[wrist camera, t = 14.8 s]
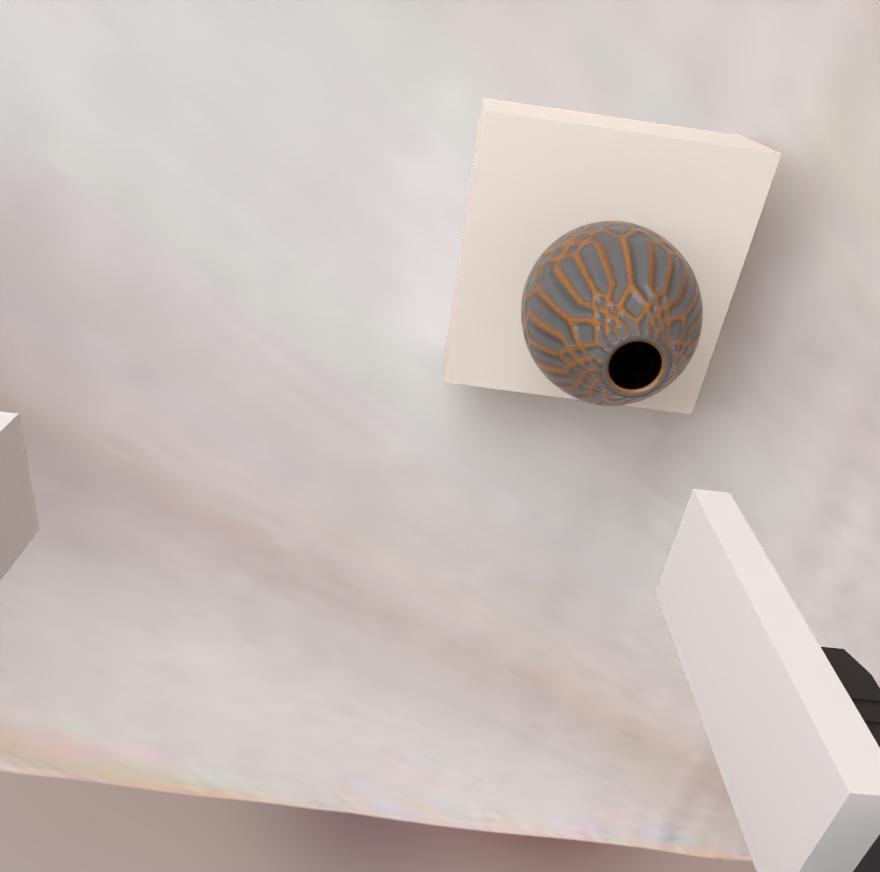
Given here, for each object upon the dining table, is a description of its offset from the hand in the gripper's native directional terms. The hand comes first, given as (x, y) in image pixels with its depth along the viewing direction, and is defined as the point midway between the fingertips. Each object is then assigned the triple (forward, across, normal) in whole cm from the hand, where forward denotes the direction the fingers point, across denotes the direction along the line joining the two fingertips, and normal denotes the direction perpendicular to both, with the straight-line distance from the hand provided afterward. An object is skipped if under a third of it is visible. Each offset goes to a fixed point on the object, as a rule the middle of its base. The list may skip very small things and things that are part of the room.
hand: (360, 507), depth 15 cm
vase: (+20, +8, -1) cm, 21 cm away
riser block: (+24, +9, -1) cm, 26 cm away
